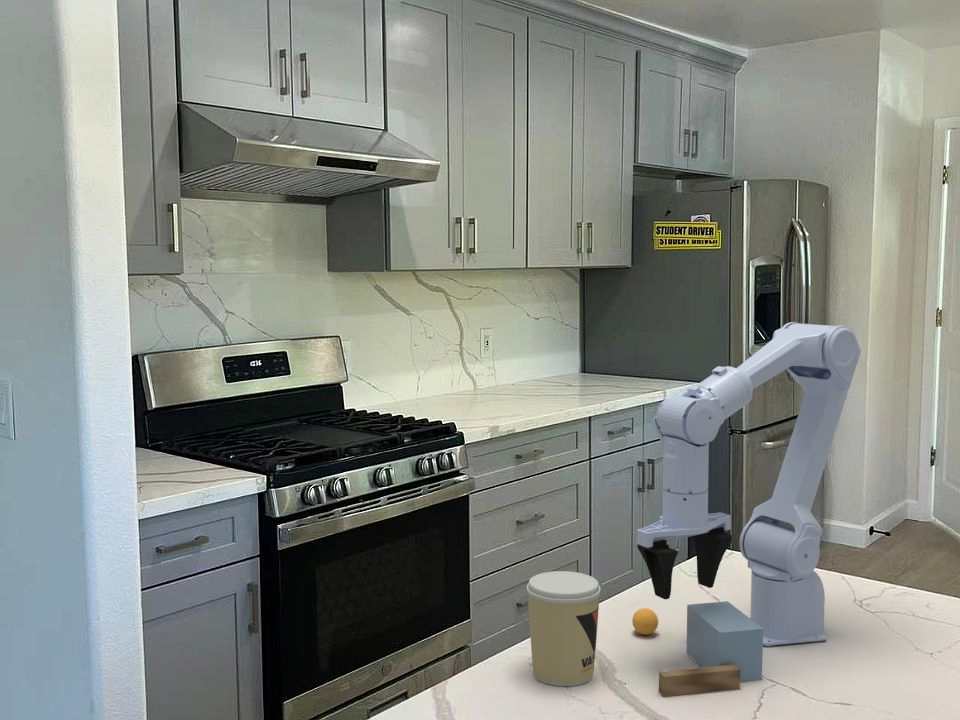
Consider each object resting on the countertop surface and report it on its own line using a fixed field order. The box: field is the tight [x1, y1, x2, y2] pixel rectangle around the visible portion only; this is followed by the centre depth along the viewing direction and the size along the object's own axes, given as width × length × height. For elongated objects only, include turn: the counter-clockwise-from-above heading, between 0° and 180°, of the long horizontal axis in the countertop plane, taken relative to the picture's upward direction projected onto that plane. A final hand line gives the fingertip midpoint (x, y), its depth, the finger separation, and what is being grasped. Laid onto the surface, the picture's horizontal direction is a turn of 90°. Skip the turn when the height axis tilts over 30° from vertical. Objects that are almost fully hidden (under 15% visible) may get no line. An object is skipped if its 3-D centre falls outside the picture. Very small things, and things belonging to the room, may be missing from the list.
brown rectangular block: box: [658, 664, 741, 698], centre depth 116 cm, size 10×2×2 cm, turn 102°
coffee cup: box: [526, 570, 602, 687], centre depth 121 cm, size 9×9×12 cm
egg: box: [631, 607, 659, 636], centre depth 134 cm, size 4×4×4 cm
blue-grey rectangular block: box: [685, 601, 764, 683], centre depth 123 cm, size 6×10×7 cm, turn 12°
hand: (684, 591), depth 124 cm, fingers open, 7 cm apart
